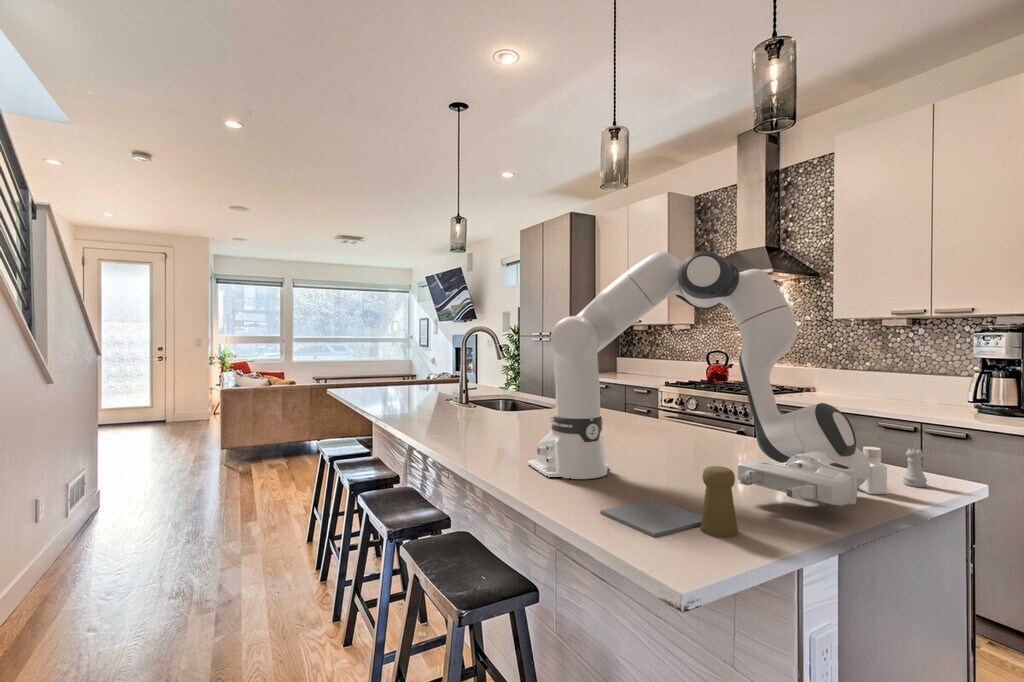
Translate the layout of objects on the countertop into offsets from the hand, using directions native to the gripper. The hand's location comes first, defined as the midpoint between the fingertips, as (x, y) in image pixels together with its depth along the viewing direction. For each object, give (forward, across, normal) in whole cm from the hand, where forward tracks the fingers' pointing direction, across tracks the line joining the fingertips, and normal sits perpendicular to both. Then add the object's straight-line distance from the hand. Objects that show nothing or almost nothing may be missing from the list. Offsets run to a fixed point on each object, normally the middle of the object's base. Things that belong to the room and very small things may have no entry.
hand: (765, 486), depth 94 cm
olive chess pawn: (+12, 0, +6) cm, 14 cm away
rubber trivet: (+17, -11, +6) cm, 21 cm away
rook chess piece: (-49, +3, +6) cm, 50 cm away
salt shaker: (-35, +1, +6) cm, 36 cm away
